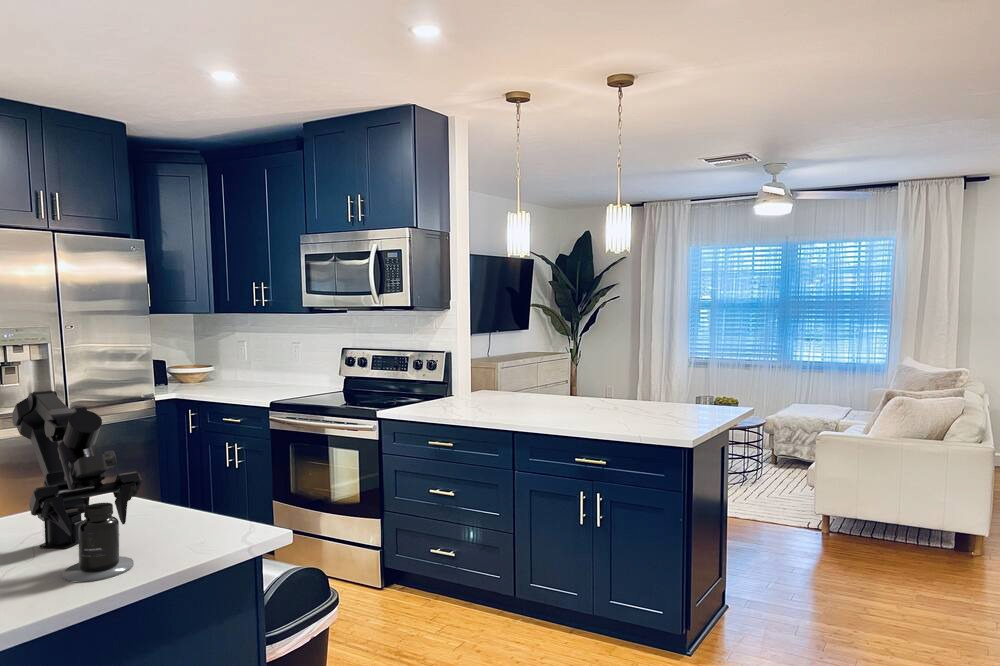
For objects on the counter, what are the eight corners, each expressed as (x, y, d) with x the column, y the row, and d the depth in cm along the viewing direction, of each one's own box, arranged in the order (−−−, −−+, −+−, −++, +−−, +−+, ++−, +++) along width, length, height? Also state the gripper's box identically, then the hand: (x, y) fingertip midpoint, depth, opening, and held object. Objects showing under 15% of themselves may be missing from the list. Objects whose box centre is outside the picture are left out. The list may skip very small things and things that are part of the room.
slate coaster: (46, 581, 129) (46, 578, 129) (90, 558, 141) (90, 555, 141) (107, 582, 128) (107, 580, 128) (146, 559, 140) (146, 556, 140)
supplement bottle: (85, 576, 130) (83, 512, 130) (74, 567, 135) (72, 505, 134) (125, 566, 135) (123, 505, 134) (113, 557, 140) (111, 498, 139)
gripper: (31, 446, 130) (49, 516, 123) (137, 432, 144) (159, 495, 136) (22, 480, 136) (39, 549, 129) (125, 464, 149) (145, 526, 142)
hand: (98, 528), depth 134 cm, fingers open, 9 cm apart
